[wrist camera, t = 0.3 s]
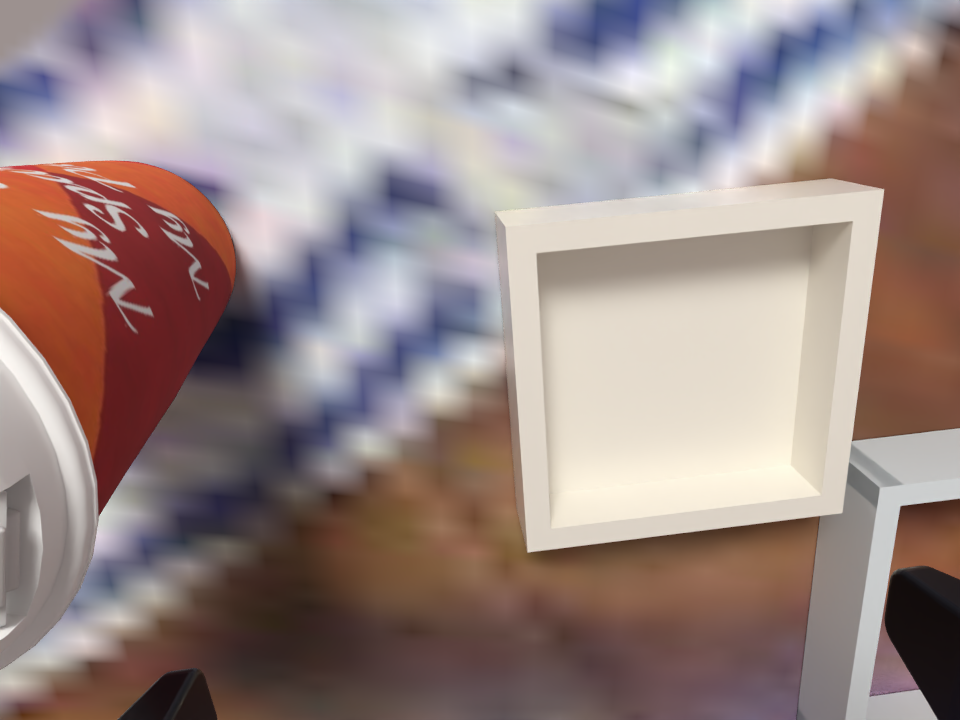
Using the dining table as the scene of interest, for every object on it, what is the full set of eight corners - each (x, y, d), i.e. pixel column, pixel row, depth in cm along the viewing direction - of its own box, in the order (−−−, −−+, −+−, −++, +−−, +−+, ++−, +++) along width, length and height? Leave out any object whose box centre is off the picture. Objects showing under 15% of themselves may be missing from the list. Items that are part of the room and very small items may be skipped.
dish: (801, 473, 26) (842, 513, 23) (516, 507, 25) (527, 552, 23) (831, 178, 22) (884, 189, 19) (494, 211, 21) (505, 226, 19)
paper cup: (290, 156, 20) (60, 275, 7) (257, 395, 23) (44, 810, 10) (-5, 88, 19) (-959, 79, 6) (-5, 350, 21) (-662, 759, 8)
